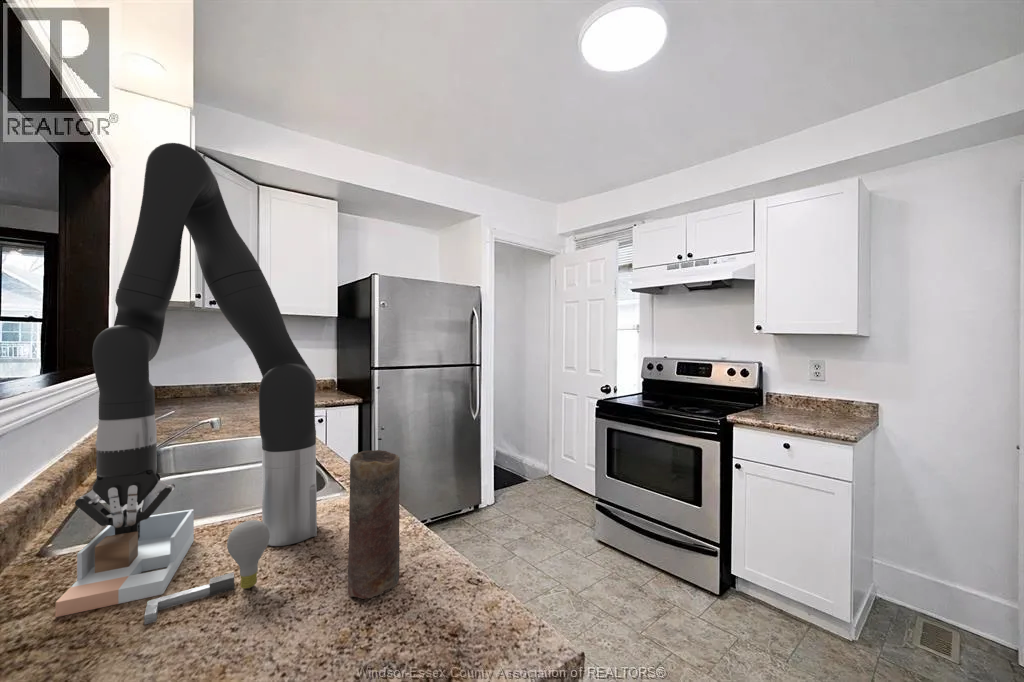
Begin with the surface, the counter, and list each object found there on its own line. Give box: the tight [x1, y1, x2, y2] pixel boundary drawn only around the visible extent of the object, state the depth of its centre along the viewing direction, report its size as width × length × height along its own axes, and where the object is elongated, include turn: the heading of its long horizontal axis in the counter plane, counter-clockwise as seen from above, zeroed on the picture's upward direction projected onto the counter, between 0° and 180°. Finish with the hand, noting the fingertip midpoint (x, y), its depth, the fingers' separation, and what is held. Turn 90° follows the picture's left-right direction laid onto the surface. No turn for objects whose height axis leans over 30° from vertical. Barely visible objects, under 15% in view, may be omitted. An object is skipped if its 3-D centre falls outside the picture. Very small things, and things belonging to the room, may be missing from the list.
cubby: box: [54, 508, 195, 618], centre depth 68 cm, size 12×19×6 cm, turn 26°
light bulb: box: [226, 519, 270, 590], centre depth 63 cm, size 5×6×10 cm
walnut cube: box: [95, 531, 138, 573], centre depth 67 cm, size 4×4×4 cm
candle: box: [347, 449, 401, 600], centre depth 63 cm, size 8×7×20 cm
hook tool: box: [143, 572, 235, 626], centre depth 60 cm, size 10×4×2 cm, turn 126°
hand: (127, 546), depth 71 cm, fingers closed
